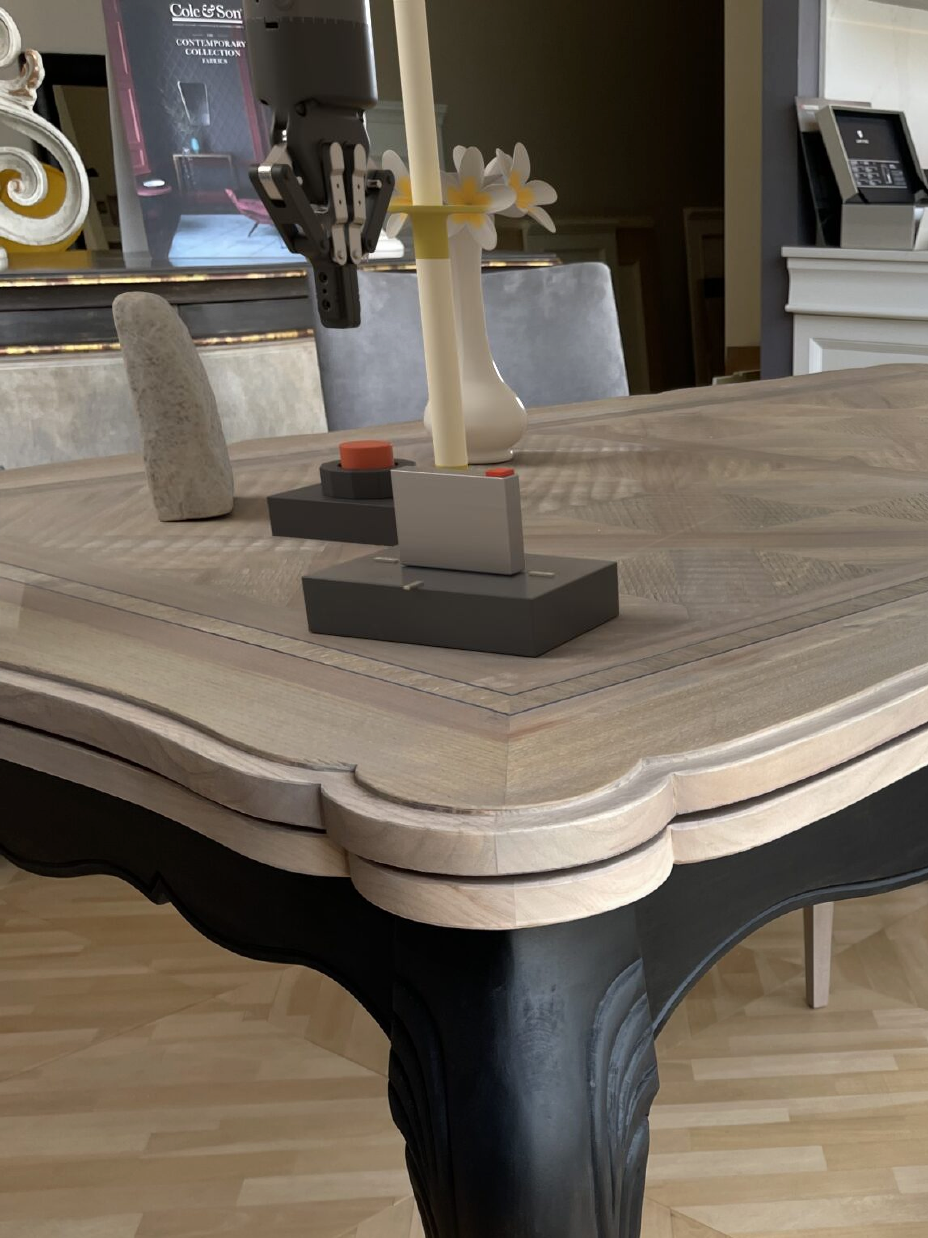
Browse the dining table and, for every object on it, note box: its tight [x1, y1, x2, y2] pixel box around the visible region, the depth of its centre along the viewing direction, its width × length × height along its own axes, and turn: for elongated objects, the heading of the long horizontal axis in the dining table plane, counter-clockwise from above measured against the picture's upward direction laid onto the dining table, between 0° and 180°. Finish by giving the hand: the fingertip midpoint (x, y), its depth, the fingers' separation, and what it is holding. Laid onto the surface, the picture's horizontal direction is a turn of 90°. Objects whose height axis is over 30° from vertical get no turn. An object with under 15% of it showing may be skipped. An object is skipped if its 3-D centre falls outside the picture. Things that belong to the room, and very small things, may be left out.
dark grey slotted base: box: [300, 545, 620, 658], centre depth 84 cm, size 14×11×3 cm
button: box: [338, 439, 395, 469], centre depth 106 cm, size 4×4×2 cm
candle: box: [386, 0, 487, 470], centre depth 111 cm, size 10×10×38 cm
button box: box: [266, 457, 417, 547], centre depth 107 cm, size 11×9×4 cm
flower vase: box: [360, 141, 558, 465], centre depth 132 cm, size 13×18×25 cm
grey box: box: [391, 465, 525, 575], centre depth 82 cm, size 7×2×5 cm, turn 69°
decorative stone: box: [111, 291, 235, 523], centre depth 111 cm, size 11×6×15 cm, turn 9°
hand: (341, 327), depth 101 cm, fingers closed
